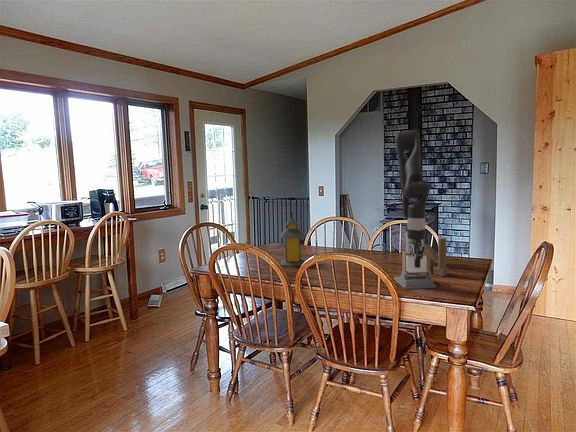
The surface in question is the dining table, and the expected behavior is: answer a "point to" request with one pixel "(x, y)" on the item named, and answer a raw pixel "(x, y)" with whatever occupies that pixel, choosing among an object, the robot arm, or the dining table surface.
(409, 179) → the robot arm
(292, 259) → the lantern
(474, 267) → the dining table surface
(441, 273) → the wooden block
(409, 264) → the pale grey block
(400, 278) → the post footing
